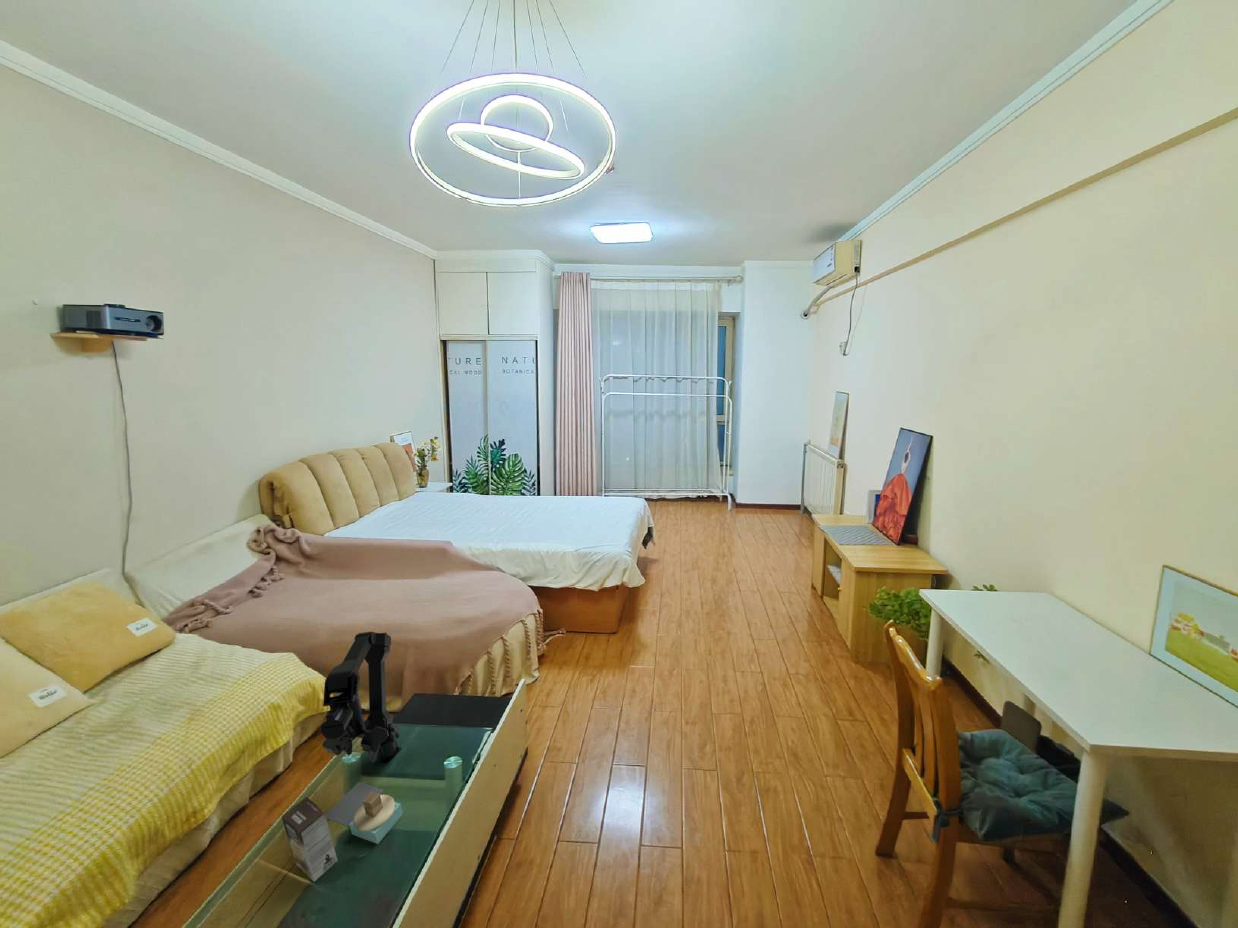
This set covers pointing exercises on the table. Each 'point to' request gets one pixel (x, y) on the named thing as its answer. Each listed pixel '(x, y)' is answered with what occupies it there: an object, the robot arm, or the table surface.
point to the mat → (351, 803)
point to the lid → (374, 812)
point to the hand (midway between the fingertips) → (361, 757)
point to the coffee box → (309, 838)
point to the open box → (380, 832)
